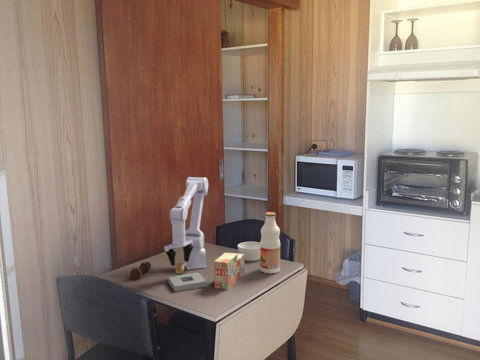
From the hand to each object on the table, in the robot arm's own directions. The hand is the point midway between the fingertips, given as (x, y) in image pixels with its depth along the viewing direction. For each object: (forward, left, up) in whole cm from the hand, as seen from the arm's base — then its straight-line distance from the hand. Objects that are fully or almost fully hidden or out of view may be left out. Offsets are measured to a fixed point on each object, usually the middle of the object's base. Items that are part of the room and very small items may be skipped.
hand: (179, 263), depth 196 cm
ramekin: (-41, -14, -7) cm, 44 cm away
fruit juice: (-42, +7, -7) cm, 43 cm away
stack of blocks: (-20, +11, -7) cm, 24 cm away
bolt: (+15, -13, -7) cm, 21 cm away
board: (-1, +8, -7) cm, 11 cm away
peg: (0, 0, -7) cm, 7 cm away
